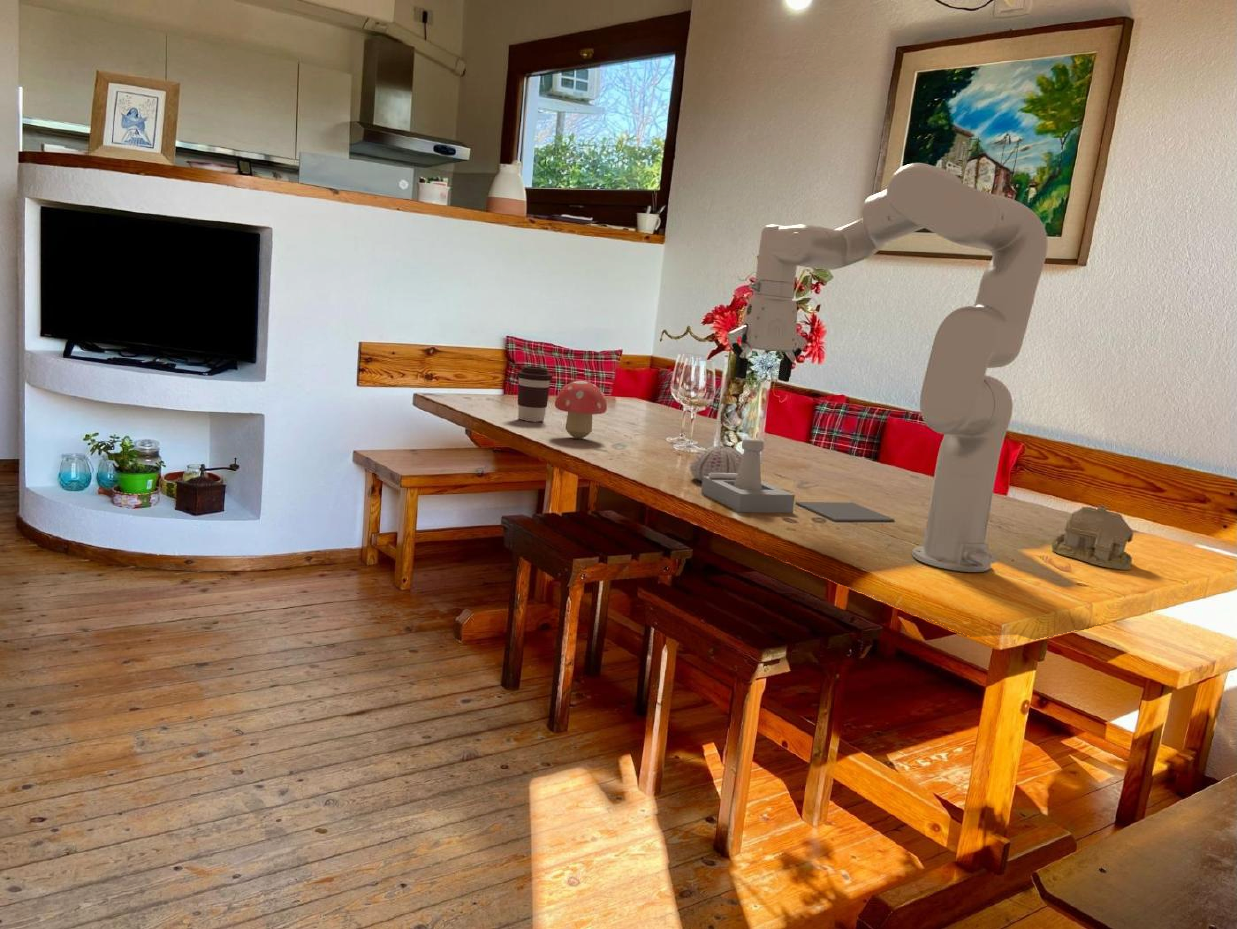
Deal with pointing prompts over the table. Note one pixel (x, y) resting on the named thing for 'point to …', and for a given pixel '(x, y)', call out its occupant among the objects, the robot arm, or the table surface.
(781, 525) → the table surface
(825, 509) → the mat
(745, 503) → the caddy
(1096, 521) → the ceramic model
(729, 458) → the sea urchin shell
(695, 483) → the table surface
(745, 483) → the salt shaker
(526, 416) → the coffee cup
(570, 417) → the decorative mushroom
